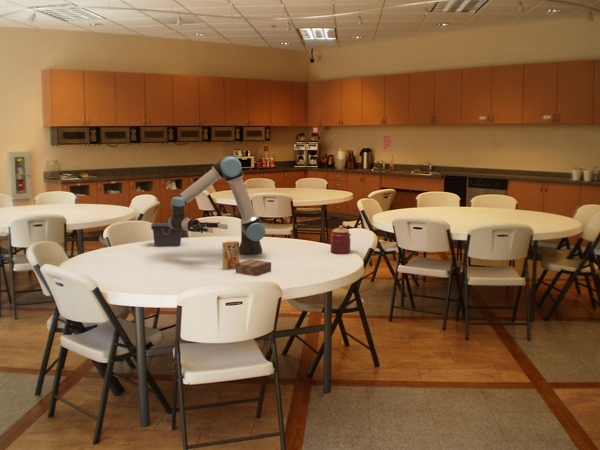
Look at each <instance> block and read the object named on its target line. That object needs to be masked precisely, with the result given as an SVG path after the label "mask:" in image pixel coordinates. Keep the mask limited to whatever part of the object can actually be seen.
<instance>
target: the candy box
mask: <svg viewBox="0 0 600 450" xmlns="http://www.w3.org/2000/svg"><path fill="white" fill-rule="evenodd" d="M239 247H240V241H238V240H232V241H231V240H229V241H222V269H224V270H231V269H233V270H234V269H236V263H240V253H239Z"/></svg>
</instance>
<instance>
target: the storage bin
mask: <svg viewBox="0 0 600 450" xmlns="http://www.w3.org/2000/svg"><path fill="white" fill-rule="evenodd" d="M150 226H151V227H150V229H151V230H152V235H153V242H154V243H153V244H154V246H155V247H180V245H181V242H182V232H183V230H175V229H171V228H170V227H169V226H168V222H167V223H166V222H165V223H164V222H161V223H159V222H155V223H152V224H151V225H150Z"/></svg>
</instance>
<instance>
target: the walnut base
mask: <svg viewBox="0 0 600 450" xmlns="http://www.w3.org/2000/svg"><path fill="white" fill-rule="evenodd" d="M269 272H272V262H271V261H266V260H265V261H264V260H258V259H248V260H244V261H241V262H240V261H239V263H236V268H235V273H236V274H243V275H249V276H255V277H256V276H257V277H258V276H260V275H262V274H266V273H269Z"/></svg>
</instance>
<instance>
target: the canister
mask: <svg viewBox="0 0 600 450" xmlns="http://www.w3.org/2000/svg"><path fill="white" fill-rule="evenodd" d="M330 236H331V237H330V253H332V254H334V255H347V254H350V253H351V241H352V239H351V236H352V235H351V233H350V230H349V229H348V228H345V227H344V226H343V225H339V226H338V227H337V228H336V227H335V228H334V229H332V231H331V233H330Z"/></svg>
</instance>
